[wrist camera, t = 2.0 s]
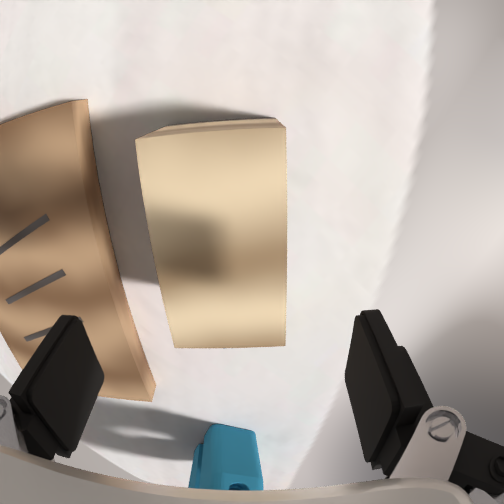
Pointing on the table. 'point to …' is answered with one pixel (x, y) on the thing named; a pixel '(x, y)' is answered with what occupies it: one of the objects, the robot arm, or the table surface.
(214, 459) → the block
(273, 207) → the block
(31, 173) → the oak board
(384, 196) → the table surface
